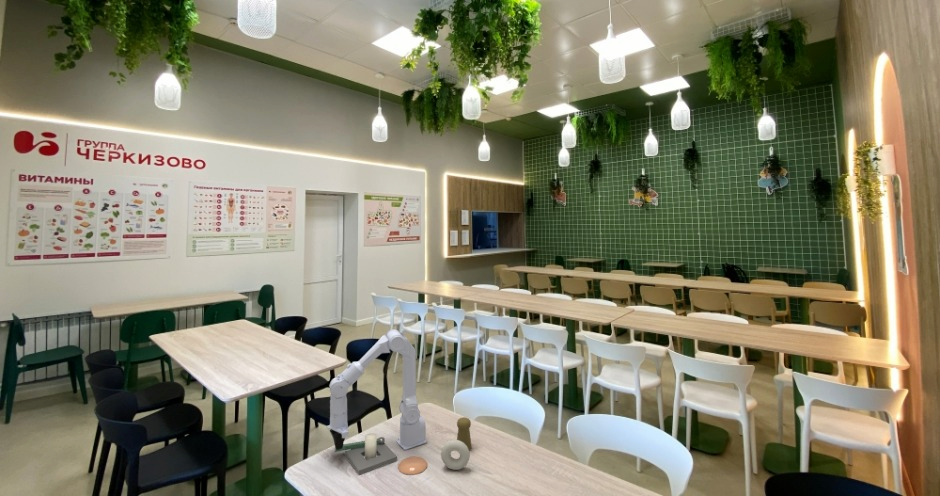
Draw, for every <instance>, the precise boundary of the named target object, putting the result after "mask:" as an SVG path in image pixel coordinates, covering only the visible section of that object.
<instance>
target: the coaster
mask: <svg viewBox="0 0 940 496" xmlns="http://www.w3.org/2000/svg"><path fill="white" fill-rule="evenodd" d="M427 468H428V462H427V460H426V459H425V458H424V457H422V456H408V457H406V458H404V459H401V460H400V461H399V462H398V465H397V469H398V471H399V472H400V473H401V474H402V475H403V474H404V475H407V476H414V475H418V474H421V473H423V472H424V471H426V470H427Z"/></svg>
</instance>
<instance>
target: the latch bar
mask: <svg viewBox="0 0 940 496" xmlns="http://www.w3.org/2000/svg"><path fill="white" fill-rule="evenodd" d="M385 440H386V438H385V437H384V436H380V437H378V438H376V445H378V444H379V445H382V444H384V443H385V442H386V441H385ZM385 444H386V443H385ZM361 447H365V440H362V441H361V440H360V441H355V442H350V443H349V442H348V443H343V447H342V449H339V450H336V448H335V447H334V452H335V453H337V452H343V451H344V452H345V451H348V450H351V449H355V448H361Z"/></svg>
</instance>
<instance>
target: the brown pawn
mask: <svg viewBox="0 0 940 496" xmlns="http://www.w3.org/2000/svg"><path fill="white" fill-rule="evenodd" d="M471 424H472V423H471V420H470V419H469V417H465V416H464V417H460V418H458V420H457V422H456V427H457V428H458V429H457V435H456V440H459V441H461V442H463V443H464V444H465V445H466V446H467V447H468V449H469V452H470V451H471V450H472V449H473V448H472V440H471V432H470V431H471V430H470V427H471Z"/></svg>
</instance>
